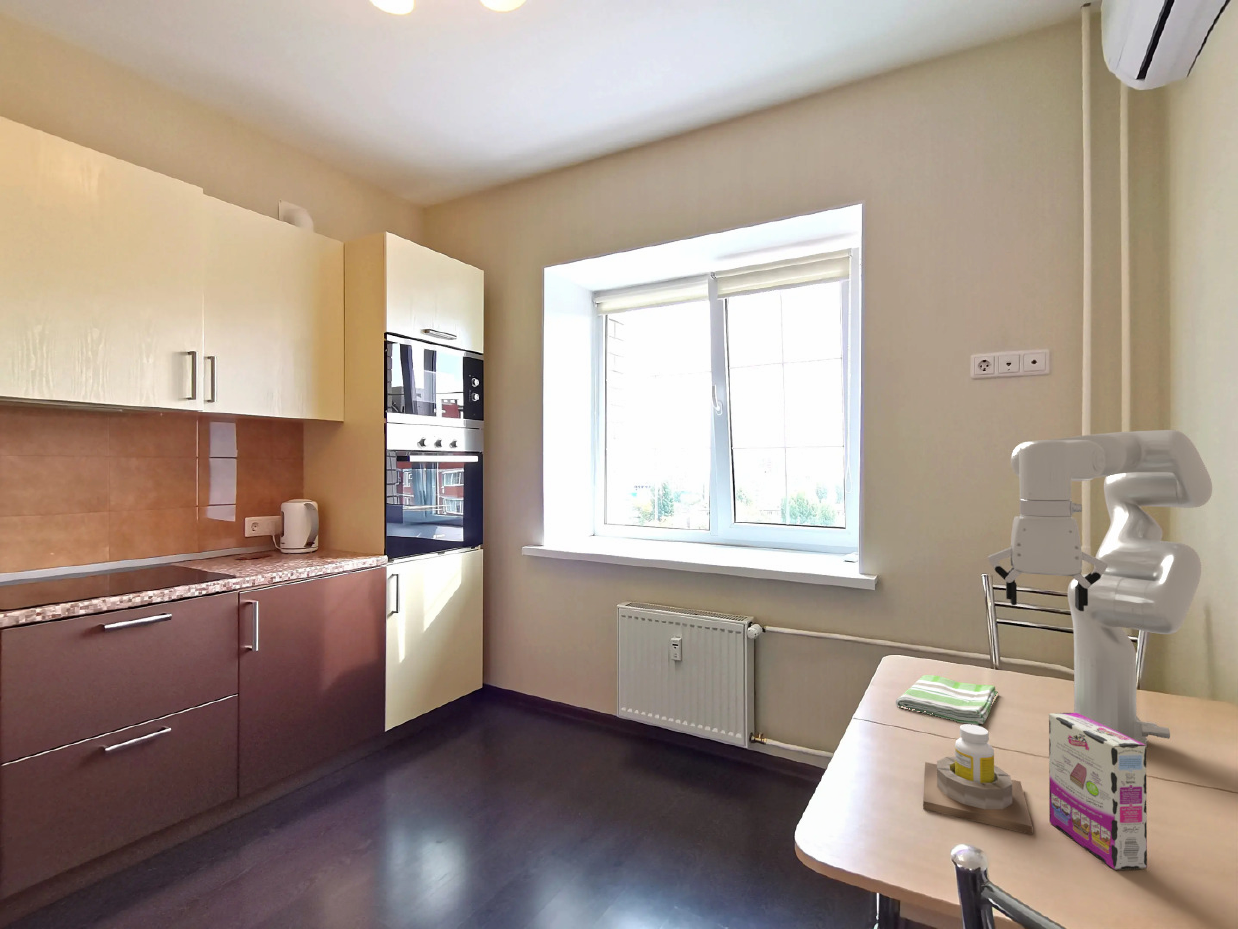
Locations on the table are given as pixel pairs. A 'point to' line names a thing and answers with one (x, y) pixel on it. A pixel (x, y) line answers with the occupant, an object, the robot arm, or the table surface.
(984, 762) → the supplement bottle
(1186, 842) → the table surface
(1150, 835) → the table surface
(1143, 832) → the candy bar box
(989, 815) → the hub block
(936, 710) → the dish towel
